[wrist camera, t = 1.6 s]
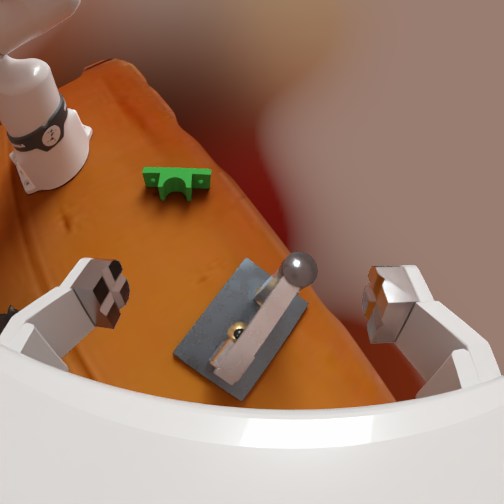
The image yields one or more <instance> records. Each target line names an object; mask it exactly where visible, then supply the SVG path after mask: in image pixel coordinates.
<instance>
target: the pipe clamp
mask: <svg viewBox="0 0 504 504" xmlns="http://www.w3.org/2000/svg"><path fill="white" fill-rule="evenodd" d="M142 173H143V177H144V181H145V184H146V187H158V190H159V194H160V199H161V200H165V199H166V197H167V195H168V194H169V193H171V192H174V191H179V192H182V193H183V194H185V196H186V198H187V201H191V197H192V188H202V189H210V178H211V169H198V168H165V167H144V168H143V172H142Z"/></svg>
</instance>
